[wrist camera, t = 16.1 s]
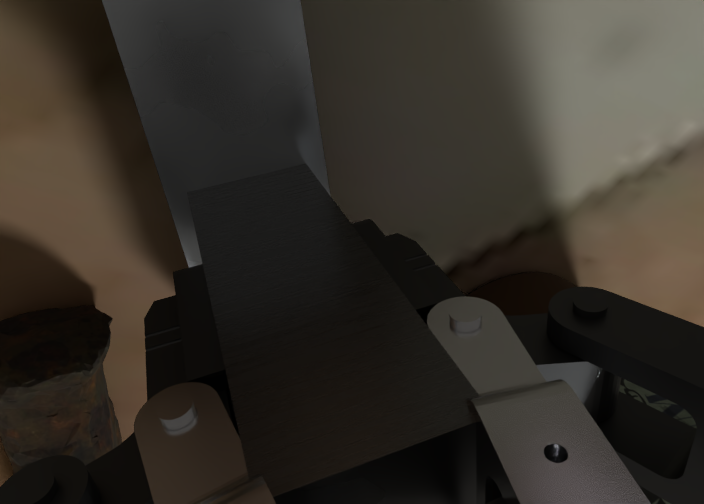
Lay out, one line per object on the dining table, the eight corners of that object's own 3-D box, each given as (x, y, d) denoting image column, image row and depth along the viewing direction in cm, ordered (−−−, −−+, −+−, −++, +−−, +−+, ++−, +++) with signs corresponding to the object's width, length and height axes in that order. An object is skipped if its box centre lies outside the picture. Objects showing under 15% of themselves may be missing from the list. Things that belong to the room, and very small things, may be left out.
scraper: (266, -44, 15) (556, 18, 5) (330, 320, 21) (511, 673, 11) (105, -18, 14) (41, 123, 4) (223, 353, 20) (314, 768, 10)
